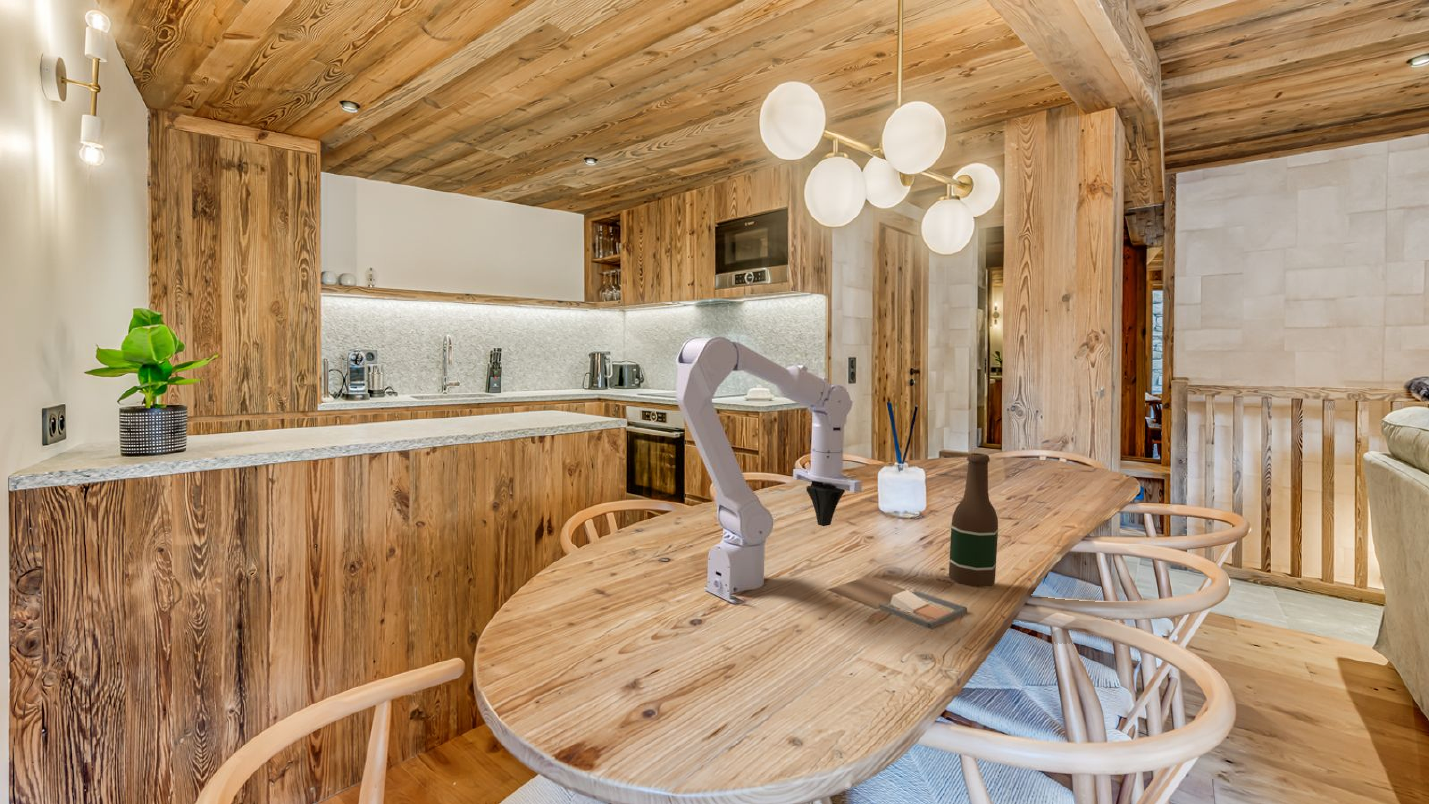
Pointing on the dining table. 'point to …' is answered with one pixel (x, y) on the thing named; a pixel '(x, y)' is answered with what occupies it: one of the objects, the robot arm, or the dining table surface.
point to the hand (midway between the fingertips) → (824, 524)
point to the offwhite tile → (907, 601)
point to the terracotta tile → (931, 612)
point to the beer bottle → (974, 530)
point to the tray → (958, 611)
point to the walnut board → (868, 591)
